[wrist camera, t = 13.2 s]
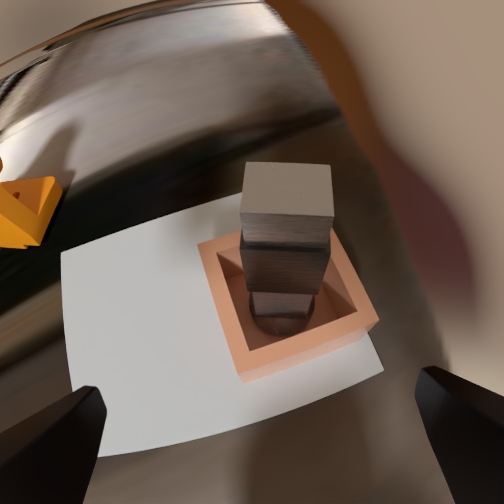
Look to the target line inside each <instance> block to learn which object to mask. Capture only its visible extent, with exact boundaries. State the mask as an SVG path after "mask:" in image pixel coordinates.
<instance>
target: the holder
mask: <svg viewBox="0 0 504 504" xmlns="http://www.w3.org/2000/svg"><path fill="white" fill-rule="evenodd" d="M240 238H241V231H238V232H235V233H231V234H228V235H225V236H222V237H218V238H215V239H212V240H209V241H206V242H203V243H199V244H197V246H198V250H199V253H200V257H201V260H202V263H203V267H204V270H205V273H206V277H207V280H208V283H209V287H210V290H211V293H212V297H213V300H214V303H215V306H216V309H217V313H218V316H219V319H220V322H221V325H222V328H223V332H224V335H225V338H226V341H227V344H228V347H229V350H230V353H231V356H232V359H233V362H234V365H235V368H236V371H237V374H238V376H239V377H240V379H241V380H242V382H243V383H244V384H245V383H248V382H251V381H254V380H257V379H260V378H263V377H266V376H269V375H272V374H275V373H278V372H280V371H283V370H286V369H289V368H291V367H294V366H297V365H300V364H302V363H305V362H307V361H310V360H313V359H315V358H318V357H320V356H323V355H325V354H328V353H330V352H333V351H335V350H338V349H340V348H342V347H345V346H347V345H349V344H352V343H354V342H356V341H359V340H360V339H361V338H362V337H363V336H364V335H365V334H366V333H367V332H368V331H369V330H370V329H371V328H372V327H373V326H374V325H375V324H376V323H377V322H378V321H379V318H378V316H377V314H376V312H375V310H374V307H373V305H372V303H371V301H370V299H369V297H368V295H367V293H366V291H365V289H364V287H363V285H362V283H361V281H360V279H359V277H358V275H357V274H356V272H355V270H354V268H353V266H352V264H351V262H350V260H349V258H348V256H347V254H346V252H345V251H344V249H343V247H342V245H341V243H340V241H339V239H338V238H337V236H336V234H335V232H334V230H333V228H332V227H331V231H330V239H331V255H330V258H329V262H328V265H327V268H326V271H325V274H324V278H323V281H322V284H321V287H320V290H319V293H318V295H314V297H315V307H314V311H313V314H312V317H311V319H310V321H309V323H308V324H307V325H306V327H305V328H304V329H302V330H301V331H300V332H298V333H296V334H294V335H291V336H286V337H277V336H272V335H269V334H267V333H265V332H263V331H262V330H261V329H260V328H259V327H257V325H256V324H255V323H254V321H253V319H252V317H251V313H250V309H249V296H250V292H247V287H246V282H245V276H244V271H243V266H242V261H241V256H240V251H239V247H240Z"/></svg>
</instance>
